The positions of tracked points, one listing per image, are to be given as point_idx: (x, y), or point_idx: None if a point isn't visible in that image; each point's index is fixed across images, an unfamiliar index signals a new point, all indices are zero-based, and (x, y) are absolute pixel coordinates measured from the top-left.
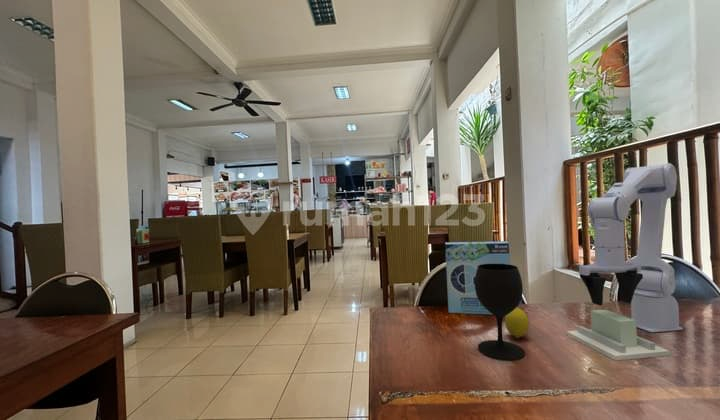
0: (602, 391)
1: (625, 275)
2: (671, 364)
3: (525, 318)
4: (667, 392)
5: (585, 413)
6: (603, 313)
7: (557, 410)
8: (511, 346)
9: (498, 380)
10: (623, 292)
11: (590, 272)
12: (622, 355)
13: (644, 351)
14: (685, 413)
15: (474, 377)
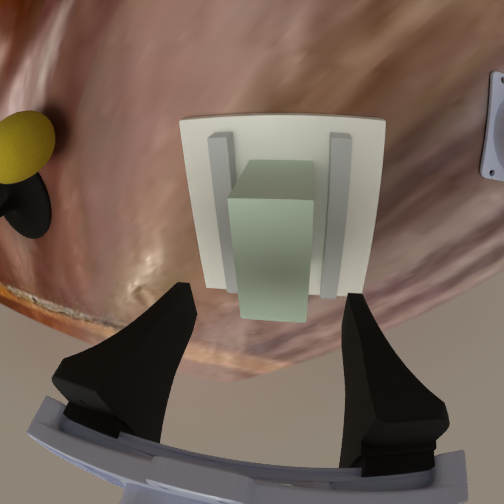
0: None
1: (350, 450)
2: (315, 314)
3: (18, 179)
4: (212, 356)
5: None
6: (254, 243)
7: (73, 334)
8: (29, 199)
9: (24, 277)
10: (350, 343)
11: (89, 435)
12: (225, 288)
13: None
14: (195, 376)
15: (5, 264)
